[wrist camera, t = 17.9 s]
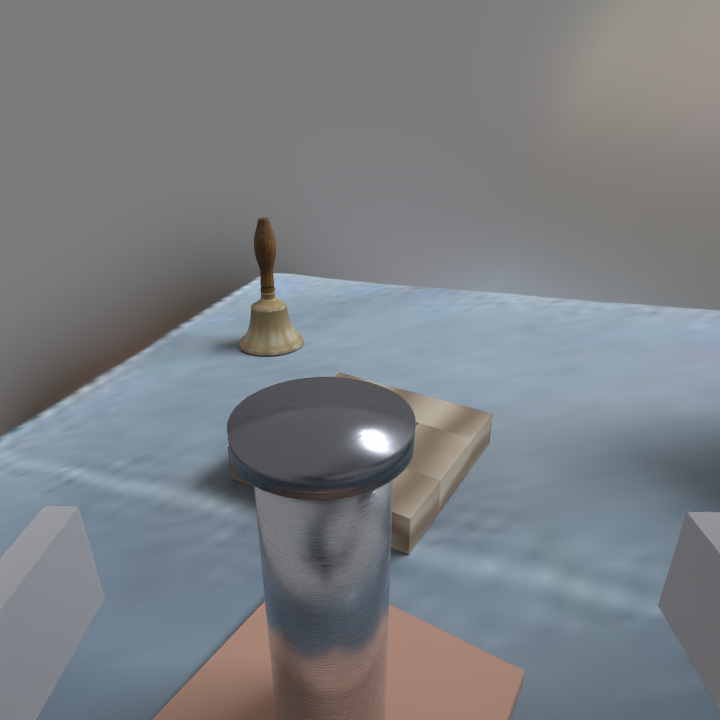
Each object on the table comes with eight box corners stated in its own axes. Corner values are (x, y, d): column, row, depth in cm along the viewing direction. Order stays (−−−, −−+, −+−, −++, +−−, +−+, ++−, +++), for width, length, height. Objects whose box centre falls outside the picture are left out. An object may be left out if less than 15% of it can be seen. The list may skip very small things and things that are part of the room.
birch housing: (489, 443, 48) (492, 413, 47) (408, 554, 36) (410, 518, 34) (340, 398, 56) (340, 372, 55) (231, 478, 43) (227, 446, 42)
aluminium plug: (423, 695, 26) (445, 402, 19) (352, 831, 21) (350, 499, 14) (315, 634, 29) (303, 364, 22) (231, 741, 24) (185, 432, 17)
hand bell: (232, 338, 71) (220, 216, 65) (291, 329, 75) (285, 211, 68) (248, 361, 65) (236, 227, 58) (313, 350, 68) (308, 221, 61)
